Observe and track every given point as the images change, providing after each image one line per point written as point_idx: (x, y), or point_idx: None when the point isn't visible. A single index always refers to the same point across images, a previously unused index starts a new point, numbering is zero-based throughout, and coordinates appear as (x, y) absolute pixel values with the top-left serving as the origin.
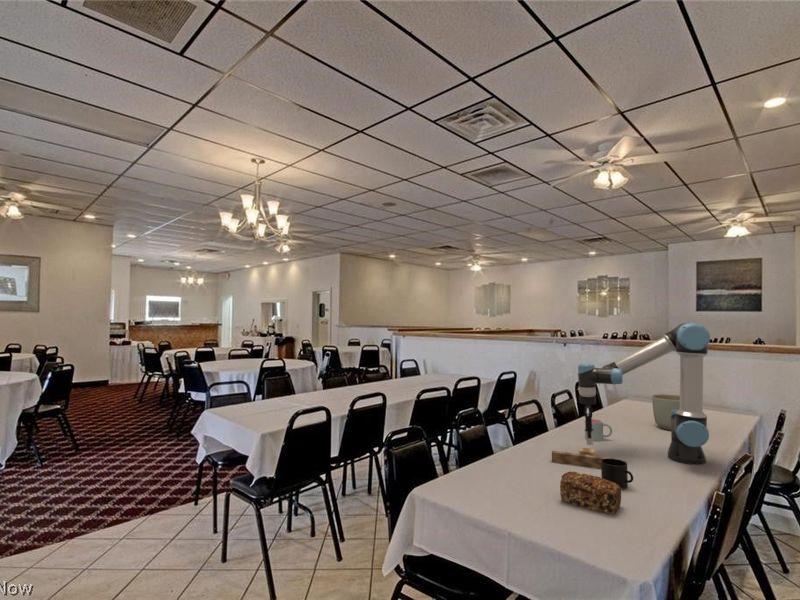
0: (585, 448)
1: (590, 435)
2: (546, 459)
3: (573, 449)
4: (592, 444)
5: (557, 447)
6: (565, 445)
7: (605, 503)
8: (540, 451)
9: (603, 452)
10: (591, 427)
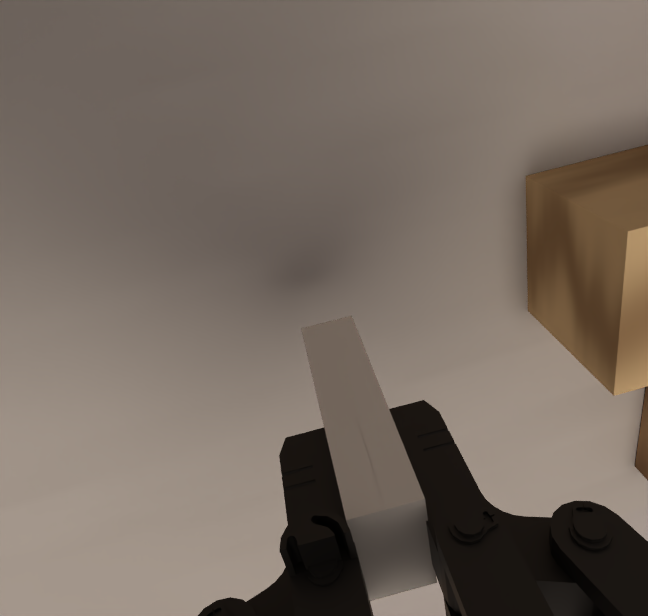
0: (643, 330)
1: (453, 446)
2: (628, 499)
3: (183, 473)
4: (354, 325)
5: (229, 574)
6: (99, 562)
7: None
8: (438, 596)
9: (10, 188)
10: (645, 595)
